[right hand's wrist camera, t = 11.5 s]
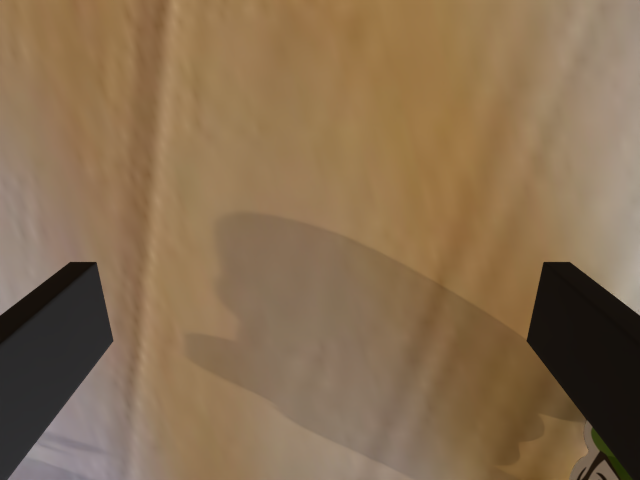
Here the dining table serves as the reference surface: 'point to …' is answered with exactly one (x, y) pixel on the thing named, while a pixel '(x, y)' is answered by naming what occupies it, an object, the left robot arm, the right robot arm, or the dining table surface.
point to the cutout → (597, 460)
